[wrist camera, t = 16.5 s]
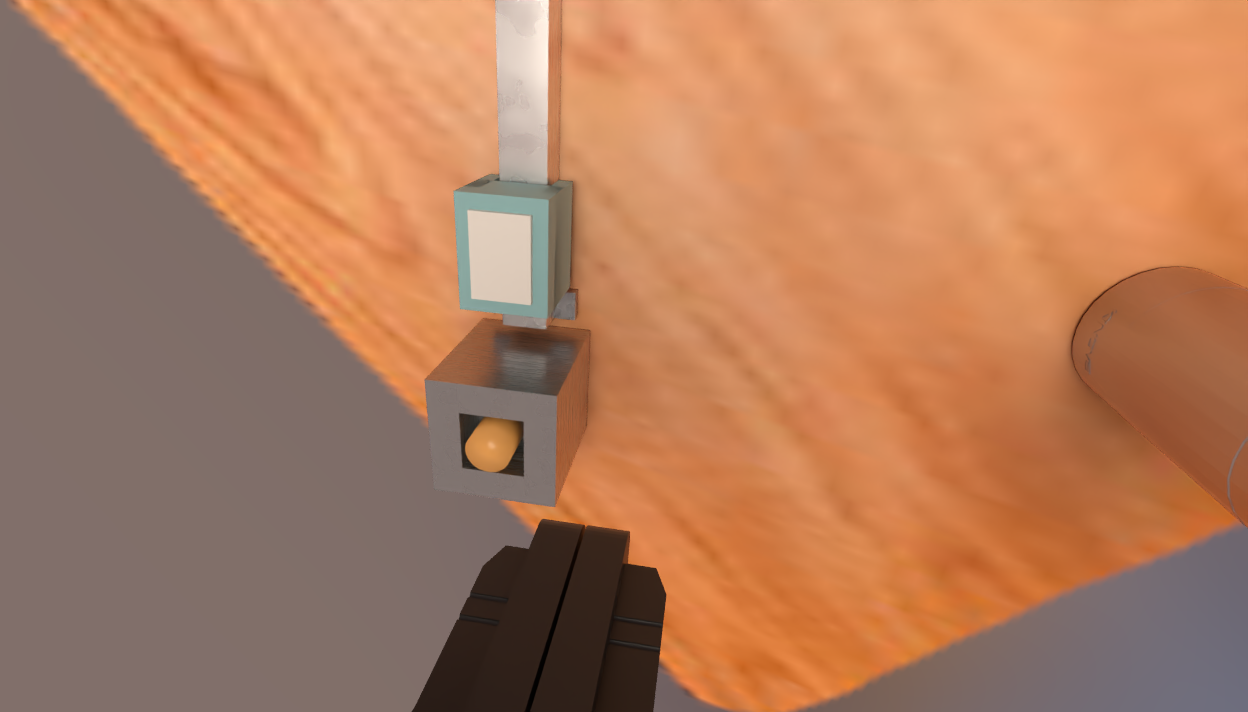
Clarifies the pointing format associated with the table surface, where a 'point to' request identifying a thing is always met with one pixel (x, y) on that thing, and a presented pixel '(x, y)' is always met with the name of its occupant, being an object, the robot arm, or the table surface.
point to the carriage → (513, 246)
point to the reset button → (494, 443)
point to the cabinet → (510, 408)
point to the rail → (530, 109)
